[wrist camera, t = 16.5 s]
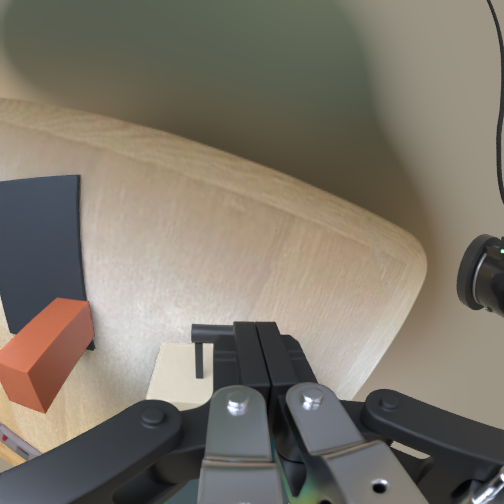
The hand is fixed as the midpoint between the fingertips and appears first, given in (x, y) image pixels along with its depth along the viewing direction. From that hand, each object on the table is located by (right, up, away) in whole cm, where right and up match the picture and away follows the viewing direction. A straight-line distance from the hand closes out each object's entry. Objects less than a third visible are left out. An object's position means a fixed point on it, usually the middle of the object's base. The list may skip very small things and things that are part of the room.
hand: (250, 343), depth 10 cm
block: (-18, -3, +14) cm, 23 cm away
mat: (-23, +2, +13) cm, 26 cm away
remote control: (-46, -34, +20) cm, 61 cm away
